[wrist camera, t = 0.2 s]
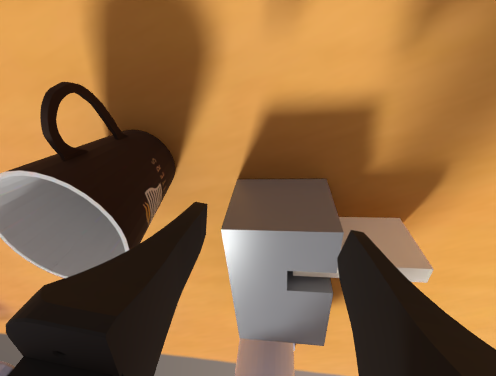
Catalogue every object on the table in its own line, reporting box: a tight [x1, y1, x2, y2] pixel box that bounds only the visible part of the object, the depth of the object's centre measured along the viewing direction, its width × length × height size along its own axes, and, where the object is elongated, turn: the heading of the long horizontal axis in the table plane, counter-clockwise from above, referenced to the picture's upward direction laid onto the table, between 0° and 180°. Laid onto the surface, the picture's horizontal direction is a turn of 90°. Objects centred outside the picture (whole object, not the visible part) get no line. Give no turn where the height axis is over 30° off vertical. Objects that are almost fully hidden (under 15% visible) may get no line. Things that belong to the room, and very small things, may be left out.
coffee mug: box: [0, 82, 175, 278], centre depth 18 cm, size 12×9×10 cm
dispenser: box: [221, 179, 344, 346], centre depth 22 cm, size 14×9×7 cm, turn 4°
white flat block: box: [293, 217, 433, 283], centre depth 21 cm, size 2×10×6 cm, turn 94°
